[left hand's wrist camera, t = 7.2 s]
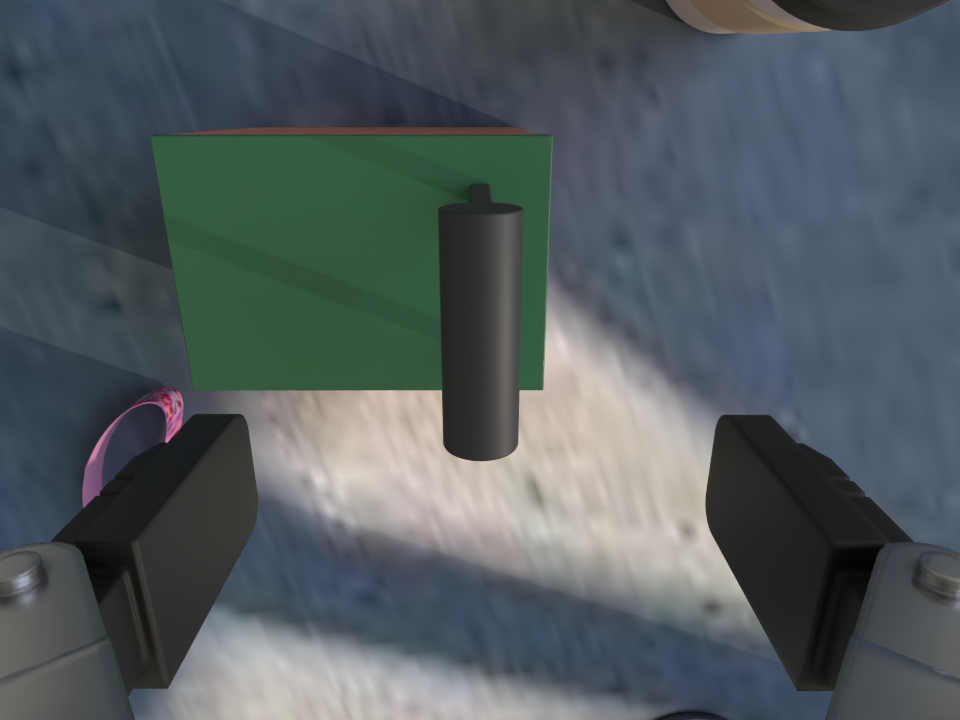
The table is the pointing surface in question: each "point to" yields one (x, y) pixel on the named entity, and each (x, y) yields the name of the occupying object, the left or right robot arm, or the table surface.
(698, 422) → the table surface
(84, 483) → the headband
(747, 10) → the coffee cup
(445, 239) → the lid
